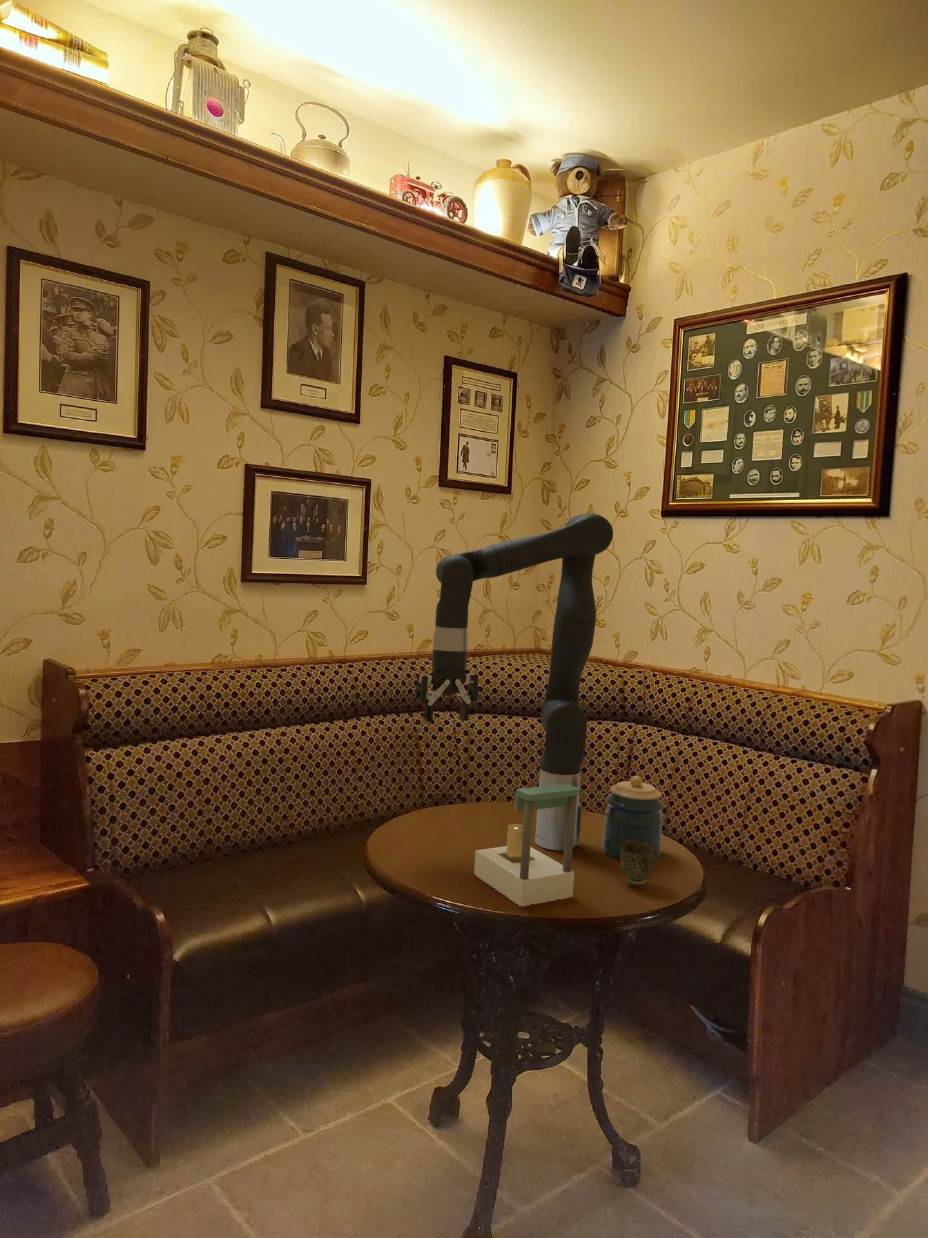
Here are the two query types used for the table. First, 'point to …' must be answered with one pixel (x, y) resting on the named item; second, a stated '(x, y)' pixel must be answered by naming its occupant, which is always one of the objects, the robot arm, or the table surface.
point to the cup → (637, 862)
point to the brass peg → (514, 843)
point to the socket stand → (533, 853)
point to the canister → (632, 816)
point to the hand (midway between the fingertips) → (445, 721)
